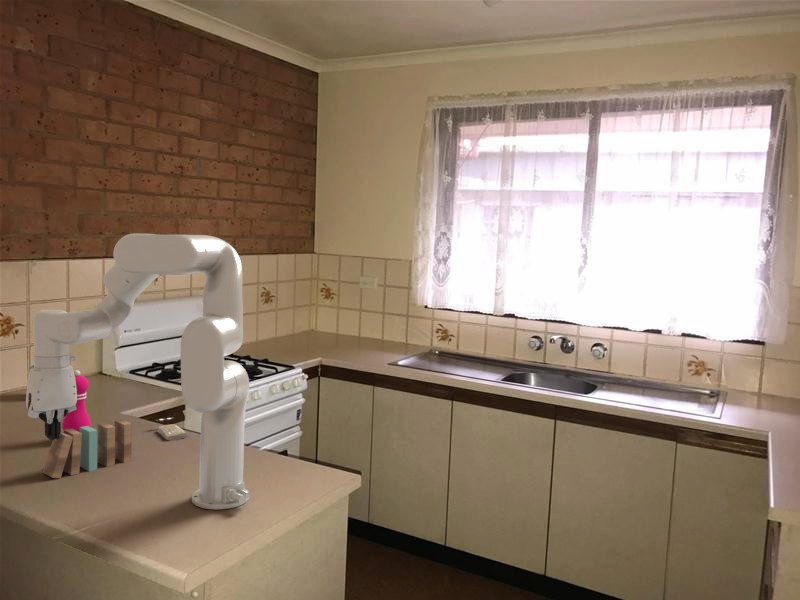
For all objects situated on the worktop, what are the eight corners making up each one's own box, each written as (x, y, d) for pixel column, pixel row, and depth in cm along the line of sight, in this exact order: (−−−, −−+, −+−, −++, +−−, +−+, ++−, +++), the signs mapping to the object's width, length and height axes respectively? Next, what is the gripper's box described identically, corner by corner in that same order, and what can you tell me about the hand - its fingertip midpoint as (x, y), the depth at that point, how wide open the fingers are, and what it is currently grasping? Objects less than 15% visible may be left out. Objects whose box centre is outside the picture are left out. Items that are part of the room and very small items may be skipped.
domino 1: (60, 478, 159) (73, 436, 161) (52, 477, 158) (65, 435, 159) (50, 472, 162) (63, 432, 164) (42, 472, 161) (55, 431, 162)
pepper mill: (94, 441, 188) (95, 371, 186) (68, 446, 183) (68, 374, 181) (84, 435, 193) (84, 366, 191) (57, 439, 187) (58, 369, 186)
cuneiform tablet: (174, 417, 202) (187, 427, 192) (174, 429, 202) (187, 440, 193) (154, 419, 199) (167, 430, 189) (154, 432, 199) (167, 443, 189)
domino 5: (131, 461, 173) (131, 423, 173) (124, 462, 172) (124, 424, 171) (121, 456, 177) (121, 419, 176) (114, 458, 175) (114, 420, 174)
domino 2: (79, 473, 163) (81, 433, 162) (71, 475, 161) (73, 434, 161) (69, 468, 166) (72, 428, 166) (61, 470, 164) (63, 429, 164)
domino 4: (114, 465, 170) (115, 426, 169) (107, 467, 168) (107, 428, 167) (104, 460, 173) (105, 422, 172) (97, 462, 171) (97, 423, 171)
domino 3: (97, 469, 166) (97, 430, 165) (89, 471, 165) (89, 431, 164) (87, 464, 169) (87, 425, 169) (79, 466, 168) (79, 427, 167)
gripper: (76, 356, 166) (76, 428, 167) (11, 363, 154) (12, 441, 156) (91, 360, 161) (91, 435, 163) (25, 368, 150) (26, 448, 151)
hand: (52, 438), depth 159 cm, fingers closed
